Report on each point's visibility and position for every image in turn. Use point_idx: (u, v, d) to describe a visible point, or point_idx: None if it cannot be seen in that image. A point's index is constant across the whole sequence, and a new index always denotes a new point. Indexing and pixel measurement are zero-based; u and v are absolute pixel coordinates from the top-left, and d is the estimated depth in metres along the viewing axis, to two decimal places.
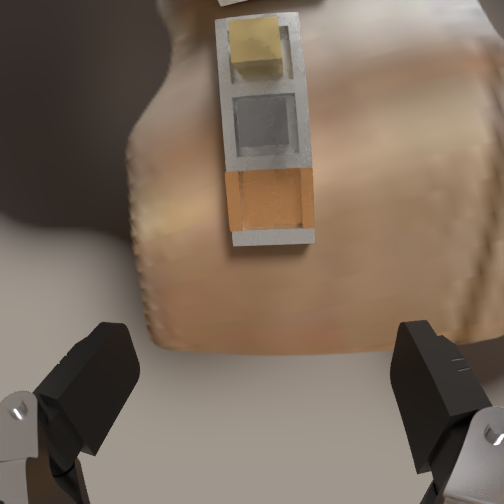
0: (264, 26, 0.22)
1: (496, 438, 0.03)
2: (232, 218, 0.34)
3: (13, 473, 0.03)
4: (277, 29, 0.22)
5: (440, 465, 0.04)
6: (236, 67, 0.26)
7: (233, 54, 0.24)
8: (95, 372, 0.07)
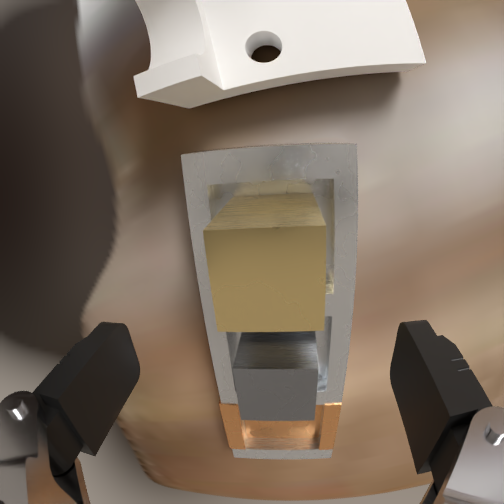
0: (291, 253, 0.11)
1: (496, 438, 0.03)
2: (231, 440, 0.23)
3: (13, 473, 0.03)
4: (322, 263, 0.11)
5: (440, 464, 0.04)
6: None
7: (220, 315, 0.13)
8: (95, 372, 0.07)
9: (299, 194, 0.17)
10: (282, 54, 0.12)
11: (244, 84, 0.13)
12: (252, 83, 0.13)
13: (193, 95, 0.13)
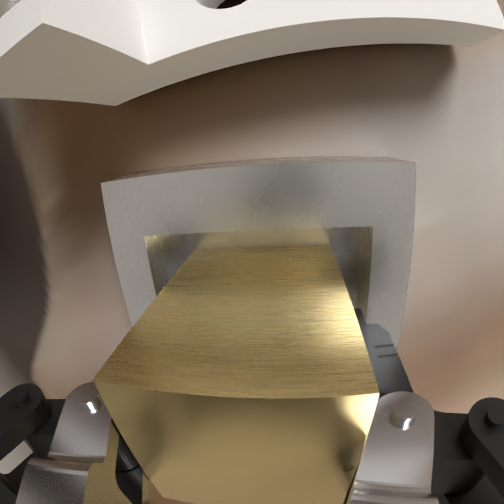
0: (290, 439, 0.04)
1: (400, 422, 0.04)
2: None
3: (71, 479, 0.03)
4: (355, 448, 0.04)
5: None
6: None
7: (162, 486, 0.06)
8: None
9: (308, 248, 0.10)
10: None
11: (185, 50, 0.06)
12: (201, 47, 0.06)
13: (89, 79, 0.06)
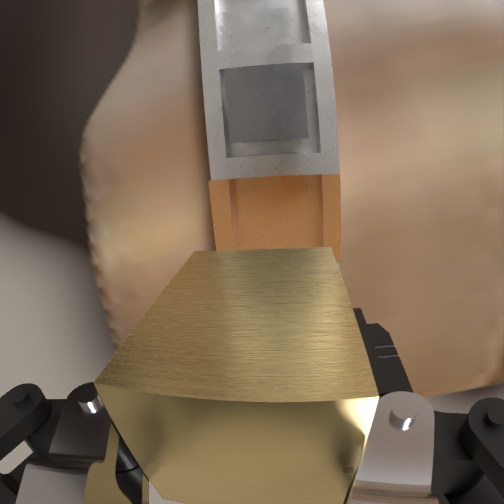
0: (290, 442, 0.04)
1: (400, 422, 0.04)
2: (220, 248, 0.23)
3: (71, 479, 0.03)
4: (354, 451, 0.04)
5: None
6: None
7: (162, 487, 0.06)
8: None
9: (308, 250, 0.10)
10: None
11: None
12: None
13: None
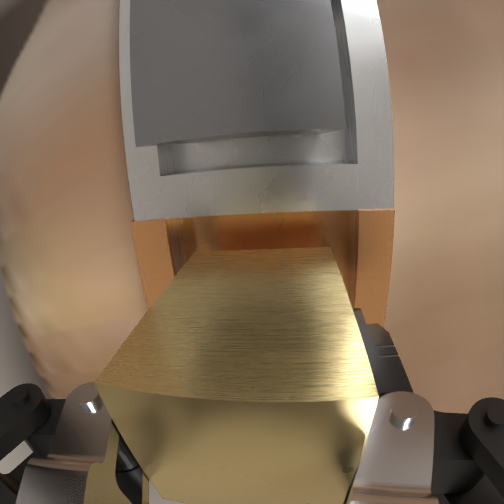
0: (290, 442, 0.04)
1: (400, 422, 0.04)
2: None
3: (71, 479, 0.03)
4: (354, 451, 0.04)
5: None
6: None
7: (162, 487, 0.06)
8: None
9: (308, 251, 0.10)
10: None
11: None
12: None
13: None
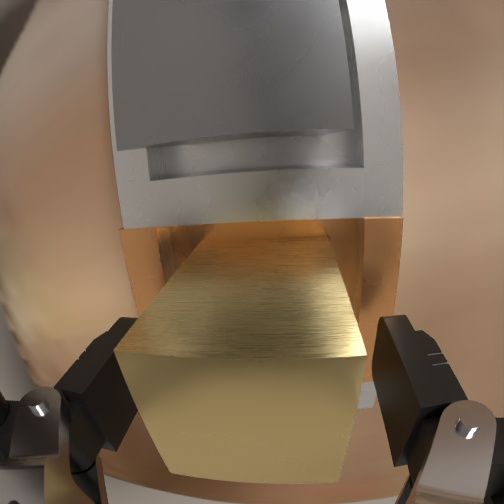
0: (290, 401, 0.05)
1: (467, 431, 0.04)
2: None
3: (31, 474, 0.03)
4: (348, 413, 0.05)
5: (415, 457, 0.05)
6: None
7: (170, 459, 0.06)
8: (117, 366, 0.07)
9: (305, 240, 0.11)
10: None
11: None
12: None
13: None
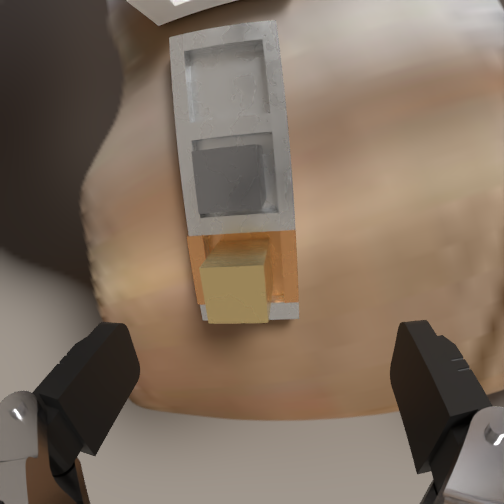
0: (246, 280, 0.22)
1: (496, 438, 0.03)
2: (199, 290, 0.28)
3: (13, 473, 0.03)
4: (263, 285, 0.22)
5: (440, 464, 0.04)
6: None
7: (210, 314, 0.23)
8: (95, 372, 0.07)
9: (260, 239, 0.27)
10: None
11: (186, 1, 0.19)
12: (190, 1, 0.19)
13: (157, 8, 0.19)
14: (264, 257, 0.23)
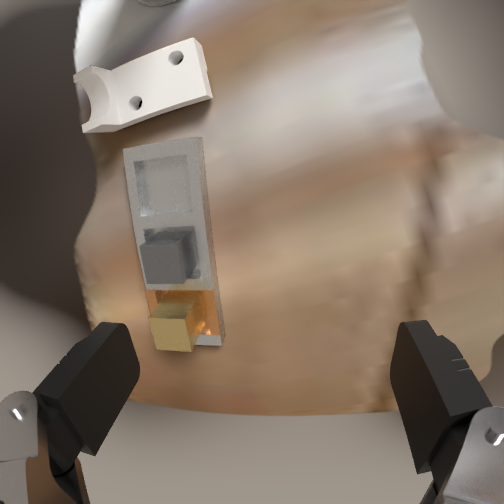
0: (175, 326, 0.33)
1: (496, 438, 0.03)
2: None
3: (13, 473, 0.03)
4: (185, 330, 0.33)
5: (440, 464, 0.04)
6: None
7: (157, 344, 0.35)
8: (95, 372, 0.07)
9: (193, 293, 0.39)
10: (142, 106, 0.30)
11: (128, 121, 0.31)
12: (131, 120, 0.31)
13: (108, 128, 0.30)
14: (188, 311, 0.34)
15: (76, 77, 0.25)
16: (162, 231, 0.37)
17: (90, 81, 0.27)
